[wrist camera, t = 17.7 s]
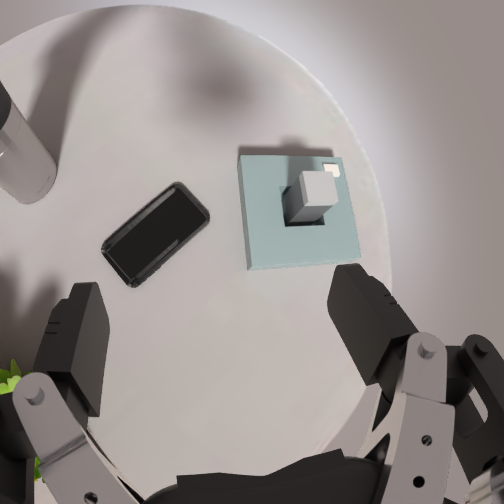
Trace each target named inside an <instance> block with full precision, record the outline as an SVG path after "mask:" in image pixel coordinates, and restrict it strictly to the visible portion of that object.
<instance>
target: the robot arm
mask: <svg viewBox="0 0 504 504" xmlns="http://www.w3.org/2000/svg"><path fill="white" fill-rule="evenodd" d="M56 173H57V167H56V162H55V161H54V159H53V157H52V156H51V155H50V153H49V152H48V151H47V149H46V148H45V146H44V145H43V144H42V142H41V141H40V139H39V138H38V137H37V135H36V134H35V132H34V131H33V130H32V128H31V127H30V125H29V124H28V122H27V121H26V119H25V118H24V117H23V115H22V114H21V112H20V111H19V109H18V108H17V106H16V105H15V103H14V102H13V100H12V99H11V97H10V96H9V94H8V92H7V91H6V89H5V88H4V86H3V85H2V83H1V81H0V187H1V188H3V189H4V190H5V191H6V192H7V193H9V194H10V195H11V196H12V197H14V198H15V199H16V200H17V201H19V202H21V203H23V204H30V203H34V202H36V201H38V200H40V199H41V198H43V197H44V196H45V195H46V194H47V193H48V191H49V190H50V189H51V187H52V185H53V183H54V181H55V178H56ZM327 307H328V312H329V315H330V317H331V319H332V321H333V323H334V325H335V327H336V328H337V330H338V332H339V334H340V336H341V338H342V340H343V342H344V344H345V346H346V347H347V349H348V351H349V353H350V355H351V357H352V359H353V361H354V363H355V365H356V367H357V369H358V371H359V373H360V375H361V377H362V379H363V380H364V382H365V384H366V386H368V385H371V384H375V383H379V385H380V387H381V388H380V390H379V391H378V395H377V399H376V403H375V406H374V410H373V414H372V418H371V422H370V425H369V429H368V432H367V435H366V438H365V440H364V442H363V444H362V446H361V447H360V449H359V452H358V454H357V456H356V457H347V456H346V457H344V455H343V452H342V450H341V449H337V450H333V451H330V452H326V453H322V454H318V455H314V456H310V457H306V458H303V459H301V460H299V461H297V462H295V463H293V464H291V465H289V466H286V467H284V468H282V469H280V470H278V471H276V472H273V473H271V474H269V475H266V476H251V475H238V474H227V473H209V474H196V475H179V476H177V484H175V485H171V486H169V487H166V488H164V489H161V490H160V491H158V492H156V493H154V494H153V495H151V496H150V497H149V498H147V499H145V498H144V497H143V496H142V495H141V494H140V493H139V492H138V490H137V489H136V488H135V487H134V486H133V485H132V484H131V483H130V482H129V481H128V480H127V479H126V478H125V476H124V475H123V474H122V473H121V472H120V471H119V469H118V468H117V467H116V466H115V464H114V463H113V462H112V461H111V459H110V458H109V457H108V456H107V454H106V453H105V452H104V450H103V449H102V448H101V446H100V445H99V443H98V442H97V441H96V439H95V438H94V436H93V435H92V434H91V432H90V431H89V429H88V428H87V423H88V417H99V416H100V404H101V394H102V385H103V376H104V368H105V361H106V354H107V347H108V341H109V334H110V325H109V318H108V315H107V312H106V309H105V305H104V302H103V299H102V296H101V292H100V289H99V286H98V284H97V283H96V282H84V283H75V284H74V285H73V287H72V290H71V292H70V295H69V298H68V299H61V301H60V302H59V303H58V304H57V305H56V306H55V308H54V309H53V310H52V313H51V315H50V318H49V321H48V325H47V327H46V329H45V335H43V338H42V341H41V344H40V348H39V351H38V354H37V357H36V361H35V364H34V368H33V371H32V373H30V374H28V375H26V376H24V377H23V378H21V379H20V380H19V381H18V383H17V384H16V386H15V388H14V390H13V392H9V393H5V394H0V504H34V473H35V457H39V459H40V462H41V464H39V465H38V469H39V472H40V474H41V476H42V478H43V480H44V481H45V483H46V485H47V487H48V488H49V490H50V491H51V493H52V495H53V496H54V498H55V500H56V501H57V503H58V504H457V503H456V502H453V501H451V500H449V499H447V498H445V497H444V495H445V490H446V485H447V478H448V473H449V466H450V459H451V451H452V445H453V448H454V450H455V452H456V454H457V456H458V458H459V461H460V463H461V465H462V468H463V470H464V472H465V474H466V477H467V479H468V482H469V484H470V488H469V492H468V493H467V494H466V495H465V498H464V502H465V504H504V360H503V359H502V357H501V356H500V354H499V353H498V351H497V350H496V349H495V347H494V346H493V344H492V343H491V342H490V341H489V340H487V339H486V338H485V337H483V336H480V335H476V334H473V335H470V336H468V337H467V338H466V340H465V341H464V343H463V344H462V346H444V344H443V343H442V342H441V340H440V339H438V338H437V337H436V336H434V335H432V334H429V333H424V332H419V331H418V330H417V328H416V327H415V326H414V324H413V323H412V321H411V320H410V319H409V317H408V316H407V315H406V313H405V312H404V311H403V309H402V308H401V307H400V305H399V304H397V301H396V300H395V299H394V297H393V296H391V293H390V292H389V291H388V289H387V288H386V287H385V286H384V284H383V283H381V282H380V281H378V280H377V279H376V278H374V277H373V276H369V275H368V274H367V273H366V272H365V270H364V269H363V268H362V266H361V265H360V264H358V263H354V264H343V265H338V266H337V267H336V268H335V271H334V275H333V280H332V284H331V288H330V292H329V296H328V300H327ZM474 387H475V389H476V390H477V392H478V394H479V395H480V397H481V399H482V400H483V402H484V404H485V405H486V408H487V411H488V417H487V420H486V422H485V423H484V422H483V420H482V418H481V416H480V414H479V412H478V410H477V409H476V407H475V405H474V403H473V401H472V400H471V398H470V396H469V393H470V392H471V391H472V390H473V388H474Z"/></svg>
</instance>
